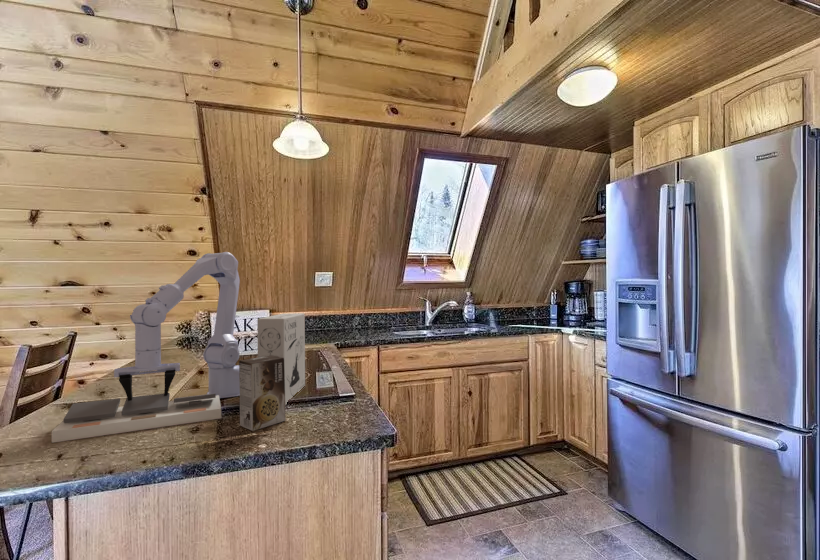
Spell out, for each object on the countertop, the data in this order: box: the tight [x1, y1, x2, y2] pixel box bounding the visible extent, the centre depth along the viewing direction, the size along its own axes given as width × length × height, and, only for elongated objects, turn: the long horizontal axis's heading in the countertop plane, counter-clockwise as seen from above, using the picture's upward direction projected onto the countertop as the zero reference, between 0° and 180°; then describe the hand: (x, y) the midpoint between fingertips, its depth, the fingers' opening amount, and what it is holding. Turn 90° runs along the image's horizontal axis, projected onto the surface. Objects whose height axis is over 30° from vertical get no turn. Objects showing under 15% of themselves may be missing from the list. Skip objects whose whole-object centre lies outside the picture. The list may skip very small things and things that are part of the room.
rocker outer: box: [62, 398, 121, 423], centre depth 99 cm, size 10×8×1 cm
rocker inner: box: [173, 393, 216, 403], centre depth 109 cm, size 10×8×1 cm
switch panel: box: [51, 395, 222, 443], centre depth 104 cm, size 34×15×3 cm, turn 117°
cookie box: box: [238, 355, 287, 432], centre depth 101 cm, size 9×6×16 cm
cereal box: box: [257, 312, 306, 406], centre depth 126 cm, size 22×8×25 cm, turn 179°
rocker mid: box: [121, 392, 171, 416], centre depth 104 cm, size 10×8×1 cm
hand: (148, 401), depth 107 cm, fingers open, 7 cm apart
